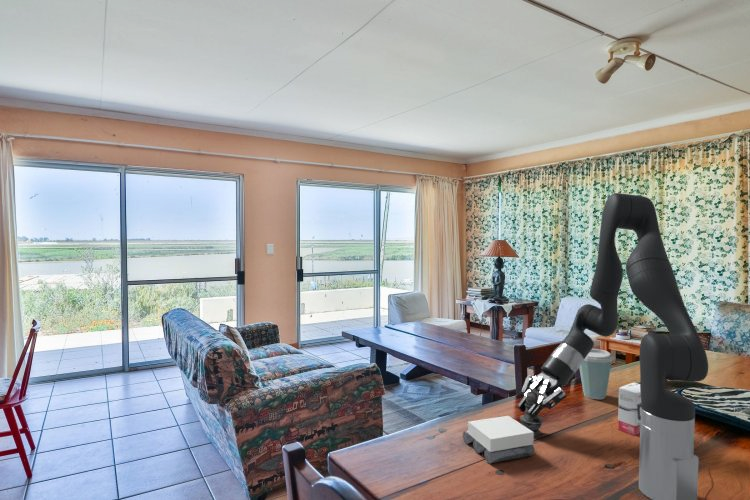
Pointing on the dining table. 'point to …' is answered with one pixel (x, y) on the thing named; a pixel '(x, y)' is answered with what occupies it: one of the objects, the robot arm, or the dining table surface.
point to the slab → (500, 433)
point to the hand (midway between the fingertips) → (525, 412)
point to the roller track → (501, 454)
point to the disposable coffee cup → (595, 373)
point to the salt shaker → (529, 421)
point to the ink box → (629, 408)
